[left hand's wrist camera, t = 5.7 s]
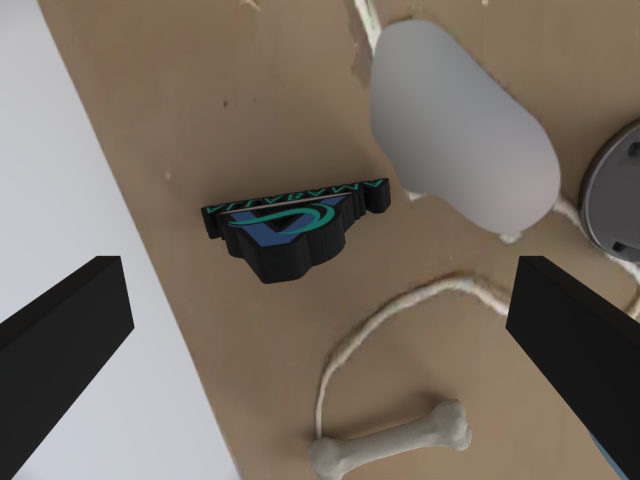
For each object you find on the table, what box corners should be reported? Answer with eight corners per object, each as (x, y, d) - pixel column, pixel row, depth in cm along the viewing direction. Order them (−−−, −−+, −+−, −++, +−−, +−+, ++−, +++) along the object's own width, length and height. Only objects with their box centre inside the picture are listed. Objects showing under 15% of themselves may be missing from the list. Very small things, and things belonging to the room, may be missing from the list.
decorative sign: (208, 229, 39) (147, 301, 25) (202, 207, 39) (135, 268, 25) (389, 201, 38) (430, 260, 24) (387, 177, 38) (427, 224, 24)
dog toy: (321, 464, 51) (321, 501, 46) (304, 433, 49) (302, 468, 45) (467, 421, 48) (483, 455, 44) (454, 386, 47) (470, 418, 42)
